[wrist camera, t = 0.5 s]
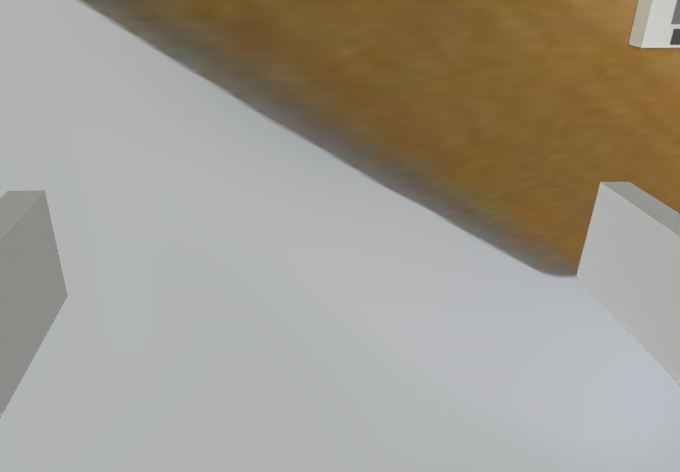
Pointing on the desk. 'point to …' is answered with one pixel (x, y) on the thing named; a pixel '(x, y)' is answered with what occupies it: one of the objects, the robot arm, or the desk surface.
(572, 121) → the desk surface
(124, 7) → the desk surface
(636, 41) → the switch board
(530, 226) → the desk surface
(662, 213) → the robot arm
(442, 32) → the desk surface
